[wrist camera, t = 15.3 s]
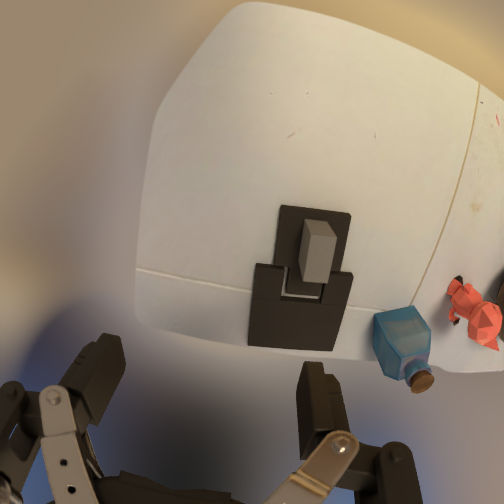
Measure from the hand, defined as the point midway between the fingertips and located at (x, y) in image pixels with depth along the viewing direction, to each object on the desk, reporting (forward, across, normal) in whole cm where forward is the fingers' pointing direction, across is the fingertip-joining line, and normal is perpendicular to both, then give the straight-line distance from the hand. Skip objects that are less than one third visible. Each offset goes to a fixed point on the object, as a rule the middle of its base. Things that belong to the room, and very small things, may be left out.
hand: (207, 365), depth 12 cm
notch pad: (+24, -8, +12) cm, 28 cm away
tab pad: (+24, -8, +4) cm, 26 cm away
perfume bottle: (+24, -23, +14) cm, 36 cm away
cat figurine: (+24, -32, +8) cm, 41 cm away
